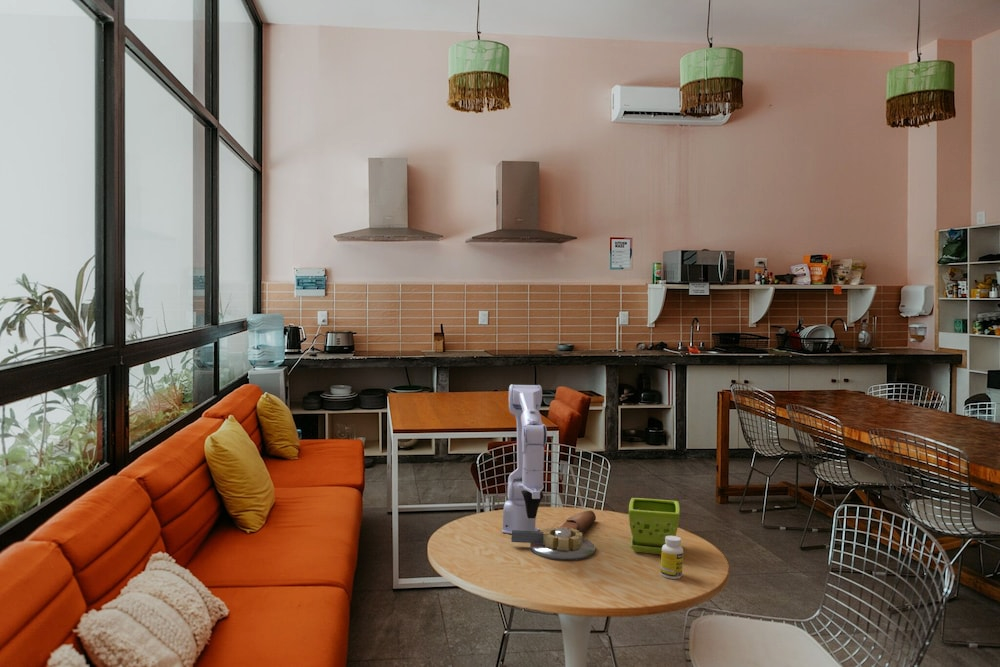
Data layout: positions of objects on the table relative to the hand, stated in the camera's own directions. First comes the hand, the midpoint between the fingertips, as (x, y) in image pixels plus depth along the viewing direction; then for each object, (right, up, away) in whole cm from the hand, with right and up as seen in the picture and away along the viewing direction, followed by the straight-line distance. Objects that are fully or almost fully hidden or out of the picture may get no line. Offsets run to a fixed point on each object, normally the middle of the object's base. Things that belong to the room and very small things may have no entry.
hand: (531, 517), depth 199 cm
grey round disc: (+9, -10, +4) cm, 14 cm away
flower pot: (+35, -11, +7) cm, 37 cm away
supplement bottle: (+35, -12, -13) cm, 39 cm away
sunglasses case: (+15, -10, +24) cm, 30 cm away
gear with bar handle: (+4, -8, +4) cm, 10 cm away
